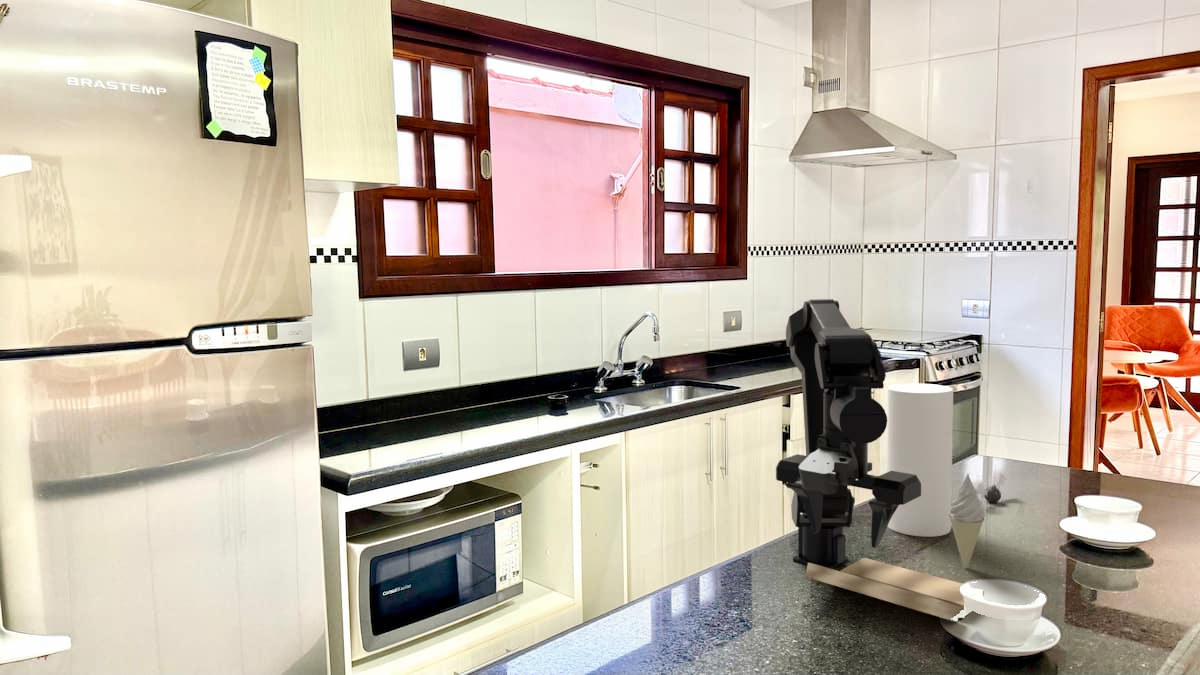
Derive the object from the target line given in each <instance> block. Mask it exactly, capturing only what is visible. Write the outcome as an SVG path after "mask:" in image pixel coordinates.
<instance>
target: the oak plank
mask: <svg viewBox="0 0 1200 675" xmlns="http://www.w3.org/2000/svg"><path fill="white" fill-rule="evenodd" d="M806 565H807V564H806ZM804 574H805V575H804V577H806V578H808V579H811V580H815V581H819V582H821V583H825V584H828V585H831V586H836V587H839V588H841V589H845V590H849V591H851V592H856V593H858V594H862V595H865V596H868V597H871V598H876V599H878V600H881V601H885V602H889V603H892V604H895V605H897V606H902V607H906V608H909V609H912V610H915V611H917V612H921V613H925V614H929V615H932V616H934V617H935V616H936V617H938V618H941V619H942V618H943V619H945V620H949V619H951V618H953V617H954V616H956V615H957V614H959V613H960V611H961V607H959V606H956V605H953V604H950V603H947V602H944V601H941V600H938V599H935V598H932V597H928V596H925V595H921V594H918V593H914V592H911V591H907V590H904V589H900V588H897V587H893V586H890V585H886V584H883V583H879V582H876V581H872V580H869V579H865V578H862V577H858V576H854V575H851V574H847V573H844V572H841V570H840V571H839V570H836V569H834V568H831V569H830V568H826V567H823V566H819V565H816V564H812V563H809V562H808V565H807V566H806V570H805V573H804ZM949 621H950V620H949Z"/></svg>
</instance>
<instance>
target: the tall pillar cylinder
mask: <svg viewBox="0 0 1200 675" xmlns="http://www.w3.org/2000/svg"><path fill="white" fill-rule="evenodd" d="M953 419H954V388H952V387H950V386H946V385H942V384H933V383H922V382H921V383H914V382H912V383H908V382H907V383H895V384H892V385H889V386H888V387H887V426H886V429H887V432H886V433H887V437H886V438H887V439H886V440H887V441H886V443H887V445H886V446H887V447H886V448H887V449H886V450H887V451H886V452H887V453H886V473H887V472H889V471H896V472H902V473H907V474H913V475H916V476H917V478H918V479H919V481H920V483H921V496H920V497H918V498H916V499H914V500H912V501H910V502H908V503H906V504H904V505H899V506H898V508H897V509H896V511H895V512H894V514H893V516H892V517H891V520H890V522H889V524H888V526H887V528H888V529H890V530H891V531H894V532H896V533H900V534H903V535H908V536H915V537H922V538H923V537H939V536H940V537H941V536H945V535H947V534H949V533H951V530H952V524H951V520H950V518H949V515H950V514H951V513H950V510H951V508H952V506H951V503H952V495H953V494H952V492H953V490H952V489H953V435H954V434H953V432H954V430H953V429H954V427H953V426H954V424H953V423H954V421H953Z"/></svg>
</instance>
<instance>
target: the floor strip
mask: <svg viewBox="0 0 1200 675" xmlns="http://www.w3.org/2000/svg"><path fill="white" fill-rule="evenodd" d="M840 572H844V573H847V574H851V575H854V576H858V577H862V578H865V579H869V580H872V581H876V582H879V583H883V584H886V585H890V586H893V587H897V588H900V589H904V590H907V591H911V592H914V593H918V594H921V595H925V596H928V597H932V598H935V599H938V600H941V601H944V602H947V603H950V604H953V605H956V606H959V607H961V610H964V601H963V598H962V596H961V594H960V591H959V587H960V586H961V585H962V584H963V583H962V582H958V581H954V580H950V579H946V578H942V577H939V576H934V575H932V574H927V573H924V572H921V571H920V572H919V571H916V570H912V569H909V568H906V567H905V568H904V567H901V566H896V565H893V564H890V563H886V562H882V561H877V560H876V559H875V560H874V559H870V558H866V557H862V558H860V559H859V560H857V561H855V562H854V563H852V564H850V565H848V566H846V567H844V568H843V569H840Z"/></svg>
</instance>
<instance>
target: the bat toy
mask: <svg viewBox="0 0 1200 675" xmlns="http://www.w3.org/2000/svg"><path fill="white" fill-rule="evenodd" d="M1005 481H1009V479H1008V477H1007V476H1006V475H1004V474H999V475H998V480H997V482H996V484H993V485H991V486H989V487H987V488H984V485H983V482H982V481H981V482H980V483H979V484H977V485H978V486H976V488H975V490H976V491H977V497H978V496H979V495H981V499H982V500H984V499H985V500H986V501H987V502H989V503H992V504H993V503H998V502H999V501H1000V500H1001V498H1002V493H1001V491H1000V487H1001V486H1003V487H1005Z"/></svg>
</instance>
